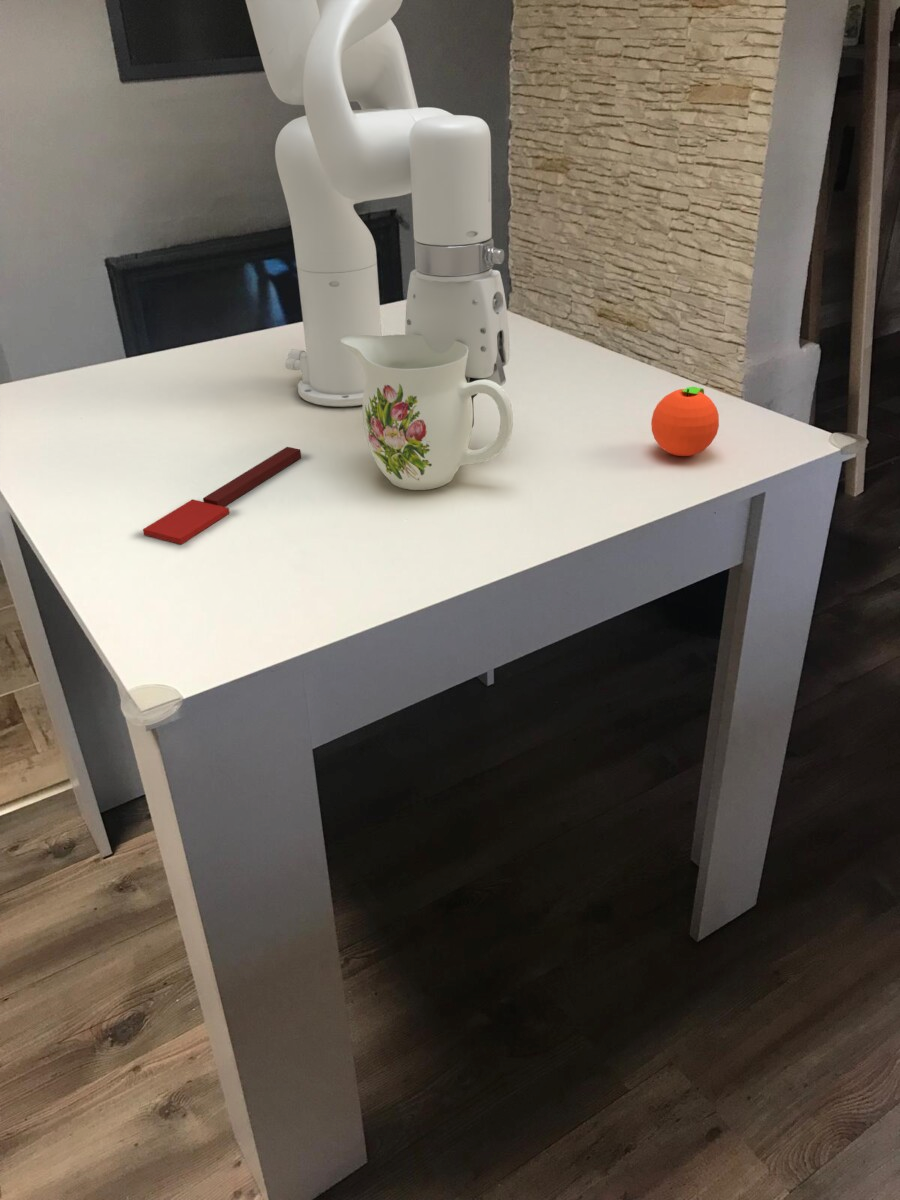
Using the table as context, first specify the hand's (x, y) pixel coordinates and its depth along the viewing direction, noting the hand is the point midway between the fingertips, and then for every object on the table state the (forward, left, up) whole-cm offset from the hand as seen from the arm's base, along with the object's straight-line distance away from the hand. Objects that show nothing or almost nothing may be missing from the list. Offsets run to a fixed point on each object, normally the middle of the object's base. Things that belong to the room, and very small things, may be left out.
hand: (458, 434), depth 103 cm
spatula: (-16, -19, -2) cm, 25 cm away
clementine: (+22, +10, -2) cm, 24 cm away
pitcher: (0, -7, -2) cm, 7 cm away
